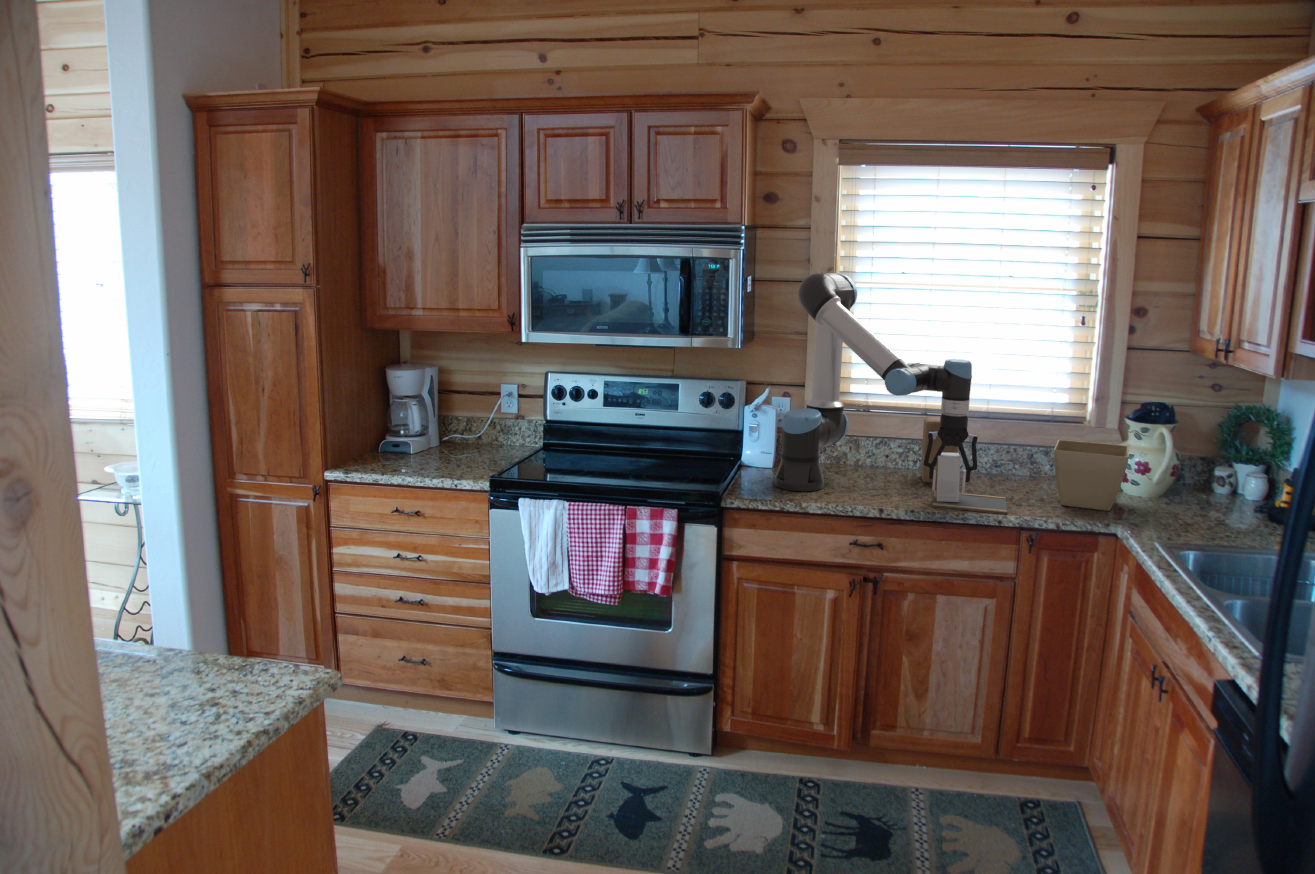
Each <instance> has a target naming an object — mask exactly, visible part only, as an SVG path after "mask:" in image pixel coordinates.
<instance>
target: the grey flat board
mask: <svg viewBox="0 0 1315 874" xmlns="http://www.w3.org/2000/svg"><path fill="white" fill-rule="evenodd" d="M1006 499H1007V497H1005V496H993V495H984V494H982V495H981V494H973V493H964V494H962V492H959V502H940V501H937V498H936V490H935V491H934V494H933V500H932V504H931V507H932V508H938V509H945V510H946V509H948V510H957V511H959V510H960V511H967V510H968V511H967V512H970V511H971V512H977V513H978V512H979V513H990V514H999V515H1008V505H1007V500H1006Z"/></svg>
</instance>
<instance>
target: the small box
mask: <svg viewBox="0 0 1315 874" xmlns="http://www.w3.org/2000/svg"><path fill="white" fill-rule="evenodd" d="M960 481H961V454H960V452H957V453H941V455H940V456H937V473H936V485H935V491H936V498H937V501H940V502H959V493H960Z"/></svg>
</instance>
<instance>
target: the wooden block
mask: <svg viewBox="0 0 1315 874" xmlns="http://www.w3.org/2000/svg"><path fill="white" fill-rule="evenodd" d="M940 417H941V416H931V415H930V416H929V415H928V416H924V419H923V431H922V440H921V441H922V443H921V456H920V469H919V474H920V477H921V479H922V482H923V483H926V484H933V479H930V478H929V472H930V468H929V467H927V466H924V460H925V455H926V451H927V447H928V442H929V439H928V433H929V432H938V430H939V428H940ZM941 443H942V441H941V439H940V438H939V436H936V439H934V440H933V444H932V449H931V453H930V457H929V462H932V460H933V458H934V456H935V454H936V453H937V451H938V449H939V447H940V445H941ZM958 451H959V448H958V447H955V446H945V448H944V449H943V451H942V453H959V452H958ZM935 467H937V463H936V465H935Z"/></svg>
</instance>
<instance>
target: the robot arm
mask: <svg viewBox="0 0 1315 874" xmlns="http://www.w3.org/2000/svg"><path fill="white" fill-rule="evenodd" d="M797 291H798V292H797V299H798V302H799V304H800V306H801V308H802V309H803V310H804V312H806V313H807V314H808V315H809V316H810V317H811V318H812V319H813V320H814V322H815V336H814V355H813V371H812V390H811V391H812V392H811V398H810V399H809V400H808V401H807V402H806V408H805V407H801V408H794V409H793V408H792V409H790V410H788V411H786V412H785V413H784V414H783V417H782V423H781V457H780V463H779V465H778V468H777V469H776V474H775V476H774V486H775V487H777V488H779V489H782V490H787V491H793V492H815V491H820V490H822V489H824V487H825V479H824V474H823V471H822V467H821V464H820V454H821V452H820V451H821V449H822V448H824V447H830V446H833V445H835V444H837V443H838V442H841V441H842V440H843V439H844V438H845V436H846V435H847V434H848V430H849V424H850V423H849V418H848V415H846V413H845V411H844V409H845V406H844V403H843V402H842V401H841V399H840V396H841V395H840V394H841V393H840V392H841V380H842V379H841V378H842V376H841V375H842V360H843V347H844V344H845V345H846V346H847V347H848V348H849V349H850V350H851V351H852V352H853V353H854V354H855V355H857V357H859V358H860V359H861V360H862V361H863V362H864V363H865V364H866V365H868V367H869V368H870V369H872V371H874V372H875V373H876V374H877V375H878V376H879V378H881V379H882V380H884V385H885V389H886V391H888V392H889V394H891V395H893V396H900V397H901V396H908V395H910V394H913V393H919V392H922V391H929V392H941V407H940V408H941V409H940V411H941V414H940V416H939V417H940V428H939V430H938V432H929V433H928V439H929V442H928V447H927V451H926V455H925V460H924V466H927V467H929V468H930V472H929V478H930V479H933V483H932V486H931V487H932V489H931V490H932V492H935V491H936V473H937V467H935V465H936V463H937V456H940V455H941V453H942V451H943V449H944V448H945V446H955V447H958V451H959V454H960V457H961V459H962V463H963V464H964V468H965V469H963V472H962V484H961V493H962V494H965V491H966V490H965V489H966V483H970V480H971V472H973V471H977V470H978V456H977V455H978V454H977V442H978V439H979V438H978V435H977V434H972V433H969V431H968V426H969V425H968V423H969V416H968V414H969V412H970V411H969V410H970V398H971V397H970V396H971V387H972V386H971V385H972V379H973V375H972V374H973V373H972V372H973V371H972V370H973V368H972V367H973V365H972V362H971V361H969V360H967V359H955V358H951V359H946V360H945V361H944V364H943V365H937V364H936V365H935V364H926V363H925V364H924V363H920V362H915V363H914V362H913V363H912V362H911V363H910V362H909V363H906V362H905V361H904V360H902V358H901V357H900V356H899V355H897V354H896V352H894V350H892V349H891V348H890V347H889V346H888V345H887V344H885V342H883V341H882V340H881V339H880V338H879V337H878V336H877V335H876V334H874V333H873V332H872V331H871V329H869V328H868V326H866V325H865V324H864V323H862V321H860V320H859V319H858V318H857V317H856V316H855V315H854V314H852V312H851V308H852V307H853V306H854V305H855V304H856V302H857V299H858V290H857V286H856V284H855V282H854V281H853V280H852V278H851V277H849V276H848V275H846V274H842V273H838V272H828V273H827V272H825V273H822V272H821V273H819V272H815V273H812V274H810V275H808V276H806V277H805V278H804V279H803V280H802V281H801V282H800V285H799V288H798V290H797ZM936 436H939V438H940V439H941V441H942V443H941V445H940V447H939V449H938V451H937V453H936V454H935V456H934V458H933V460H932V462H929V457H930V453H931V449H932V444H933V440H934V439H936ZM967 439H968V441H969V443H971V445H970V446H971V457H972V464H970V461H969V458H968V455H967V453H966V450H965V447H964V444H963V443H964V442H965V441H966V440H967Z"/></svg>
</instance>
